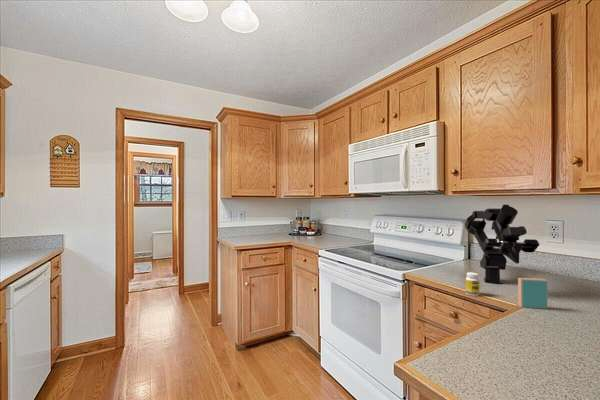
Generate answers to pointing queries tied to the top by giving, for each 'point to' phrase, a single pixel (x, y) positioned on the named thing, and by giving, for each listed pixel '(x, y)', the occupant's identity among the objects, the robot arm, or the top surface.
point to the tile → (532, 293)
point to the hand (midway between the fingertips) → (517, 263)
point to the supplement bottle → (472, 284)
